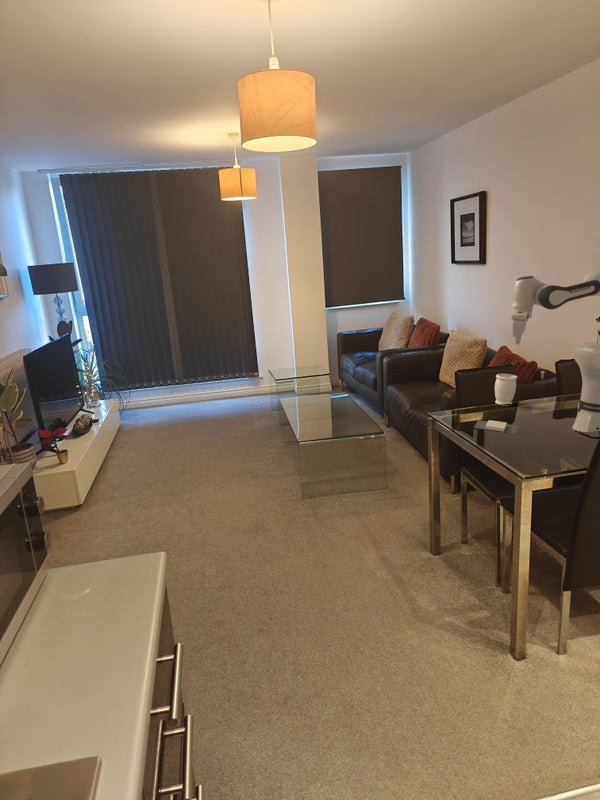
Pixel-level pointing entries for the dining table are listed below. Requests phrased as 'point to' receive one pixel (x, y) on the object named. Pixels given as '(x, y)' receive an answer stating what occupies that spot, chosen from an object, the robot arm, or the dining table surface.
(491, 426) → the tile
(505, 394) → the jar
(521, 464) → the dining table surface
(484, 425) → the mat
